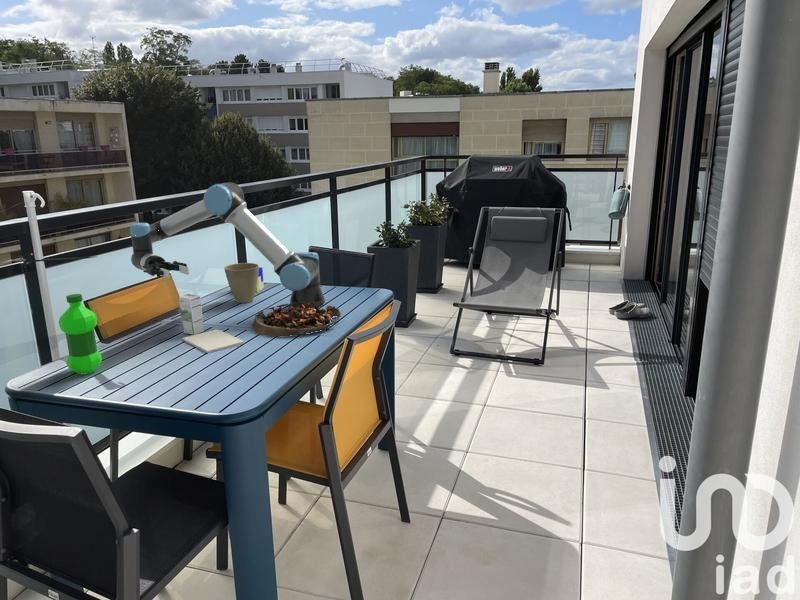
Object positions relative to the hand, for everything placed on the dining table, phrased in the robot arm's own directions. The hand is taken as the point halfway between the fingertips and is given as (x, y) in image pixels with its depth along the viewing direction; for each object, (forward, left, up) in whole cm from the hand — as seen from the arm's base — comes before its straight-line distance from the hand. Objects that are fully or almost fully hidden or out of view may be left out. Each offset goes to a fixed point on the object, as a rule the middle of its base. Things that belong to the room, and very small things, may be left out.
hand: (178, 272), depth 231 cm
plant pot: (-16, -38, -22) cm, 47 cm away
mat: (-15, +18, -22) cm, 32 cm away
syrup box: (-5, +6, -22) cm, 24 cm away
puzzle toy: (-15, -59, -22) cm, 65 cm away
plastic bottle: (+19, +43, -22) cm, 52 cm away
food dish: (-43, -1, -23) cm, 49 cm away
